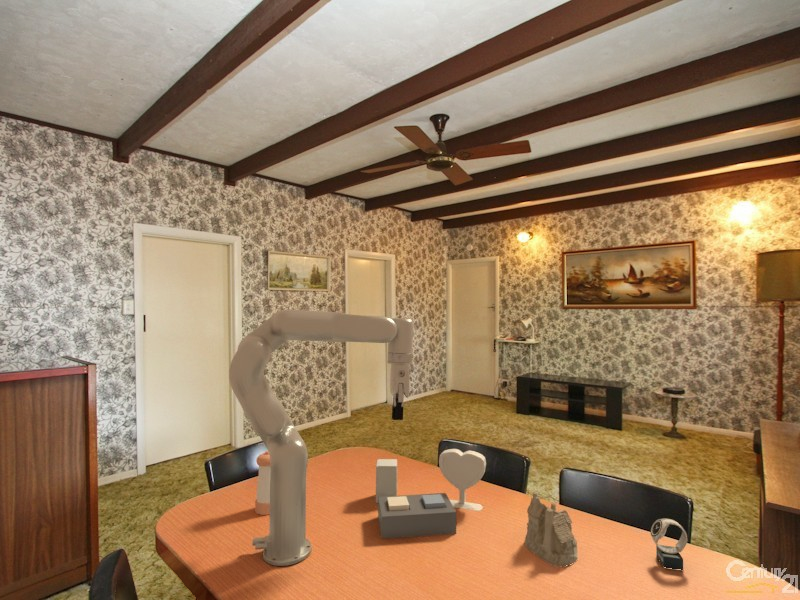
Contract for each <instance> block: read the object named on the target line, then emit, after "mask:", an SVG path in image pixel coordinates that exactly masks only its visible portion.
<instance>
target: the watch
mask: <svg viewBox="0 0 800 600" xmlns="http://www.w3.org/2000/svg"><path fill="white" fill-rule="evenodd" d="M670 525H673V526H677V527H678V528H680V530H681V531H682V532H681V535H680V537H679V540H678V541H677V542H676V544H675V546H671V545H670V546H669V545H661V544H659V543H658V542H659V541H660V540H661V539H662V538H664V537H665V534H666V532H667V529H668V527H670ZM650 536H651V538H652V540H653V543H654V544H655V545H656V557H658V558H659V560H660V561H659V560H658V561H659V563H660V562H661V563H662V565H663V566H664V567H666V568H672V569H681V570H683V571H684V558H683V556H682V555H681V554H680V553H682V551H683V550H684V549H685V547H686V546H687V543H688V534H687V531H686V530H685V529H684V527H683V526H682V525H681V524H679V522H677V521H676V520H674V519H670V518H658V519H656V520H655V521H654V522H652V525H651V527H650ZM658 558H657V559H658ZM661 563H660V564H661ZM662 565H661V566H662ZM663 566H662V567H663Z"/></svg>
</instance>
